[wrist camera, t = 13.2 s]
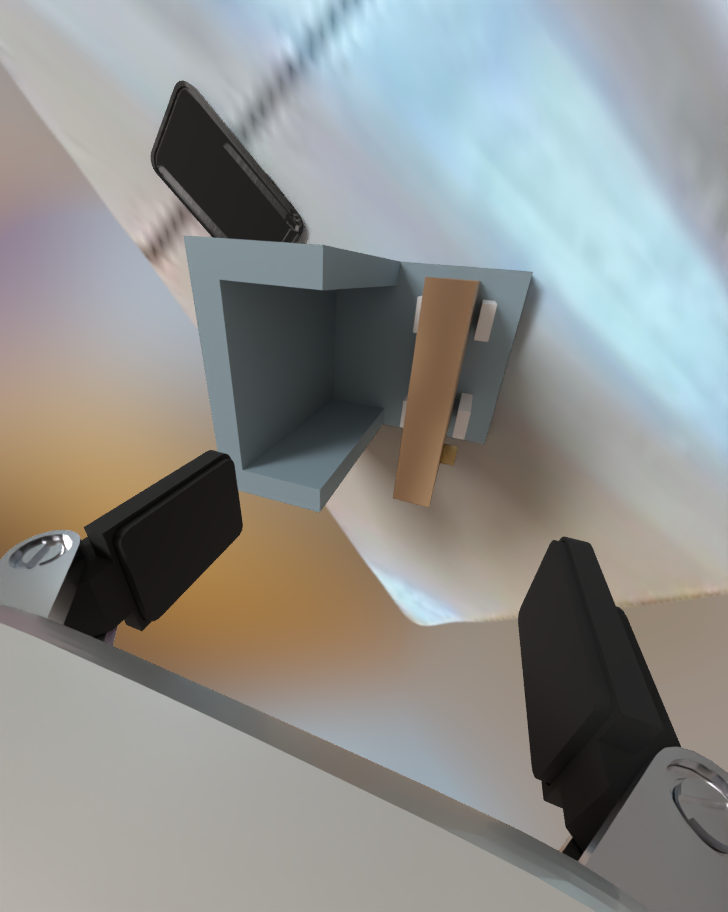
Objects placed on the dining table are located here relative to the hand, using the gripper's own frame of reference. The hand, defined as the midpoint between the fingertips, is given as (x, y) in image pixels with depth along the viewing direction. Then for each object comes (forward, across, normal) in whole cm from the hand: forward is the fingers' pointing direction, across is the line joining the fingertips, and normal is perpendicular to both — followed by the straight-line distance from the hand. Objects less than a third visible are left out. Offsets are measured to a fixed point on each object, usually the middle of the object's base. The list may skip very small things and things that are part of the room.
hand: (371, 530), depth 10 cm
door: (+25, 0, 0) cm, 25 cm away
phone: (+27, +23, -12) cm, 37 cm away
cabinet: (+26, +4, 0) cm, 27 cm away
